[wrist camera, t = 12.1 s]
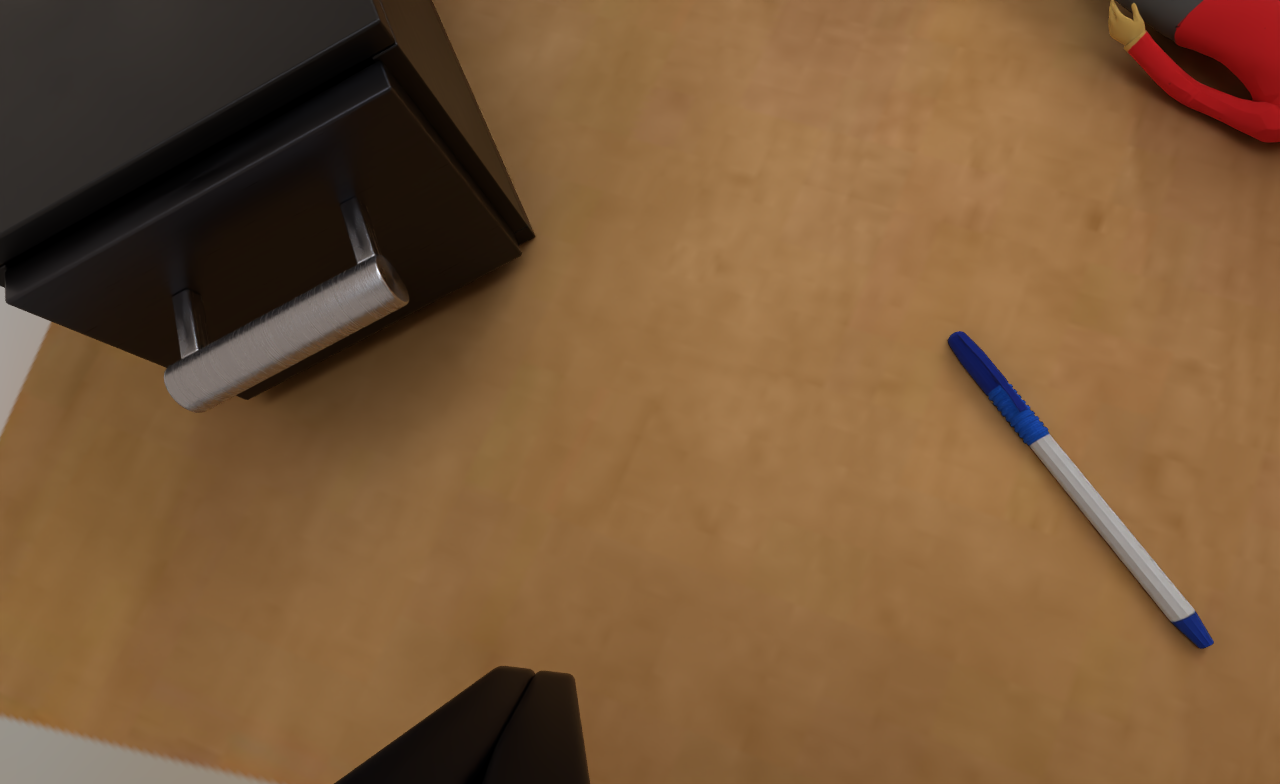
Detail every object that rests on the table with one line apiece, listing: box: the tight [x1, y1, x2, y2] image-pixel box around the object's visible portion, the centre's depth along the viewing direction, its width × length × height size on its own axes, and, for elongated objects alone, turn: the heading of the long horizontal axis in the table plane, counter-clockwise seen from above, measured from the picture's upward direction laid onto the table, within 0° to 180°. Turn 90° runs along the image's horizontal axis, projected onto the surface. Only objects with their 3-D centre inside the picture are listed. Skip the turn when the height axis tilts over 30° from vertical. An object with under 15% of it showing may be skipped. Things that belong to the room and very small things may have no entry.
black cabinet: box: [0, 0, 535, 288], centre depth 26 cm, size 16×14×11 cm
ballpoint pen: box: [948, 331, 1214, 649], centre depth 20 cm, size 10×1×1 cm, turn 29°
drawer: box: [5, 57, 522, 413], centre depth 25 cm, size 18×12×9 cm
